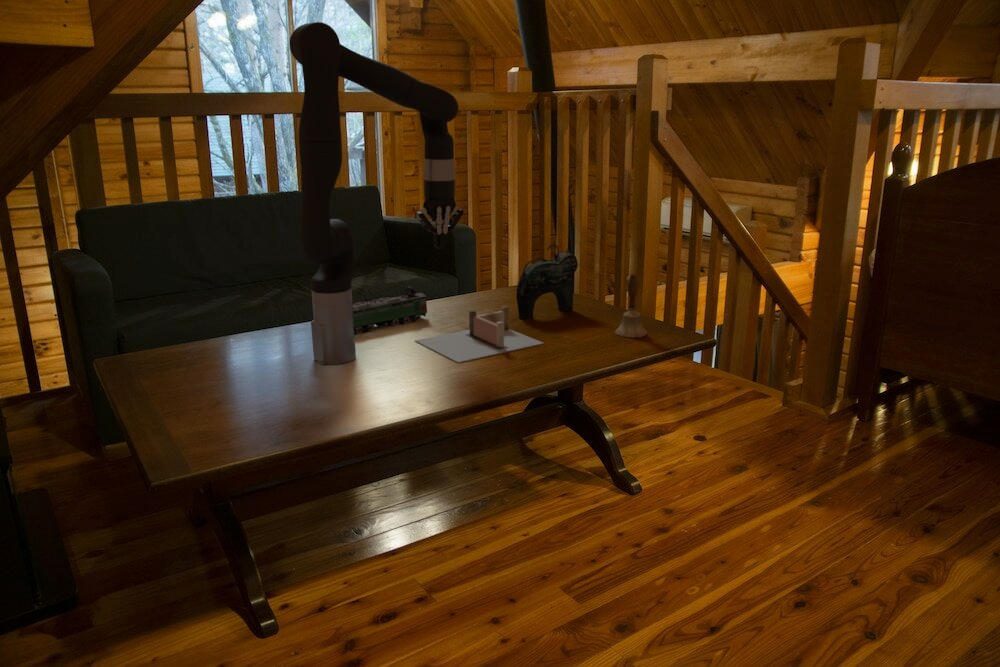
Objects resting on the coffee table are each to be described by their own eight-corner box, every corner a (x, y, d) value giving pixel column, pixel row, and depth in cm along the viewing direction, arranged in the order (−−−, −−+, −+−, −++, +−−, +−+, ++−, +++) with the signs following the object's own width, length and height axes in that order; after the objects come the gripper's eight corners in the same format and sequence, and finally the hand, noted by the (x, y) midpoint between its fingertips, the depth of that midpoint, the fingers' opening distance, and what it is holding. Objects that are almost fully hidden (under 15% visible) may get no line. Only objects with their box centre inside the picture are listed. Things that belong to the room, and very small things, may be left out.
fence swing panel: (472, 335, 204) (472, 313, 202) (478, 334, 205) (478, 311, 203) (499, 347, 194) (499, 324, 192) (505, 346, 195) (505, 322, 193)
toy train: (432, 319, 222) (430, 284, 219) (332, 340, 203) (329, 303, 200) (422, 316, 226) (421, 281, 223) (323, 336, 207) (320, 299, 204)
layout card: (458, 363, 185) (458, 361, 185) (415, 341, 201) (415, 340, 201) (543, 344, 199) (543, 342, 199) (496, 325, 215) (496, 323, 215)
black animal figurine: (567, 306, 234) (568, 239, 228) (581, 311, 229) (583, 243, 223) (513, 316, 223) (513, 247, 217) (526, 322, 218) (526, 251, 212)
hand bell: (647, 338, 203) (651, 278, 198) (615, 337, 204) (617, 277, 199) (645, 329, 211) (648, 271, 206) (614, 328, 212) (616, 270, 207)
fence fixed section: (471, 336, 204) (471, 312, 202) (468, 335, 205) (467, 311, 204) (509, 328, 211) (509, 305, 209) (506, 327, 212) (505, 304, 210)
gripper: (422, 180, 183) (423, 254, 188) (470, 178, 190) (470, 248, 195) (407, 177, 189) (409, 248, 194) (455, 174, 196) (455, 243, 201)
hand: (440, 248), depth 195 cm, fingers closed
